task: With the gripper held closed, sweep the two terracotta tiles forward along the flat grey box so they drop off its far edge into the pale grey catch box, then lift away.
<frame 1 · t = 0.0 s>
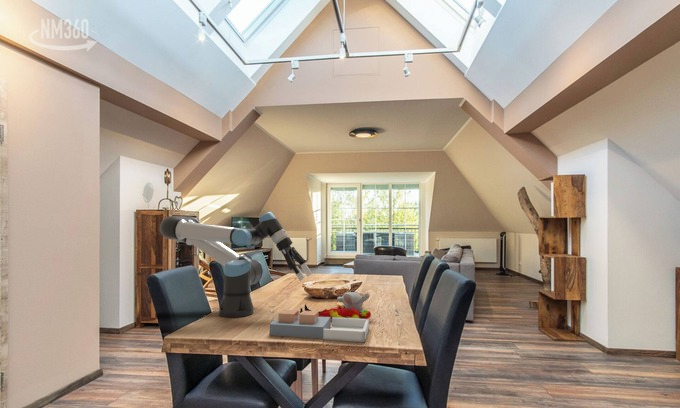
hand: (306, 277, 172), 15 cm above the table, tool tilted 35°, fingers open, 13 cm apart
front tile: (308, 320, 136), point 4 cm above the table, touching flat grey box
catch box: (347, 333, 133), on the table
toy: (352, 312, 168), on the table
flat grey box: (301, 331, 136), on the table
rear tile: (288, 319, 137), point 4 cm above the table, touching flat grey box
figurine: (336, 320, 154), on the table
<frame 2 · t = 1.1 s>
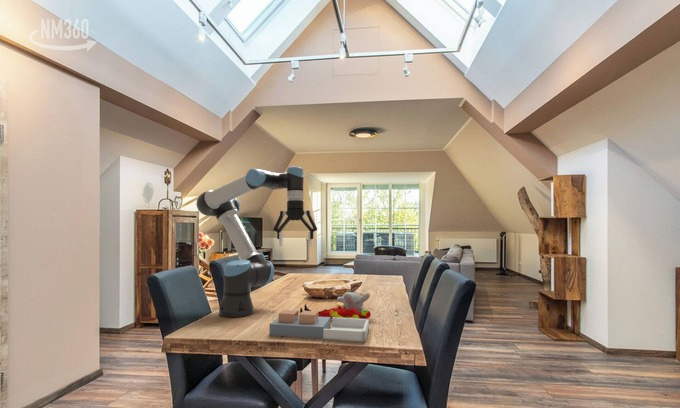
hand: (295, 246, 165), 30 cm above the table, tool pointing down, fingers open, 13 cm apart
nothing on the table moved.
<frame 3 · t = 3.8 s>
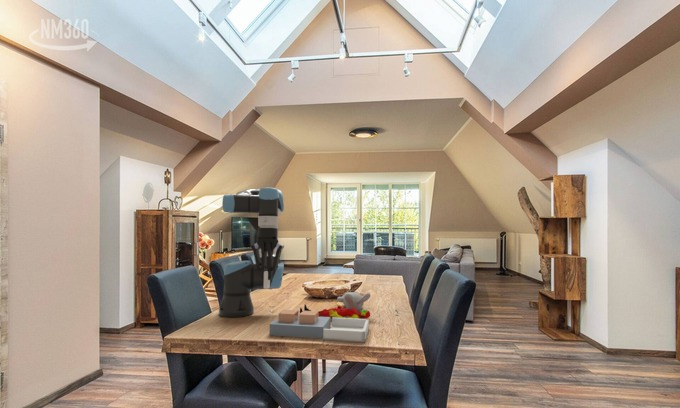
hand: (266, 288, 139), 16 cm above the table, tool pointing down, fingers closed
nothing on the table moved.
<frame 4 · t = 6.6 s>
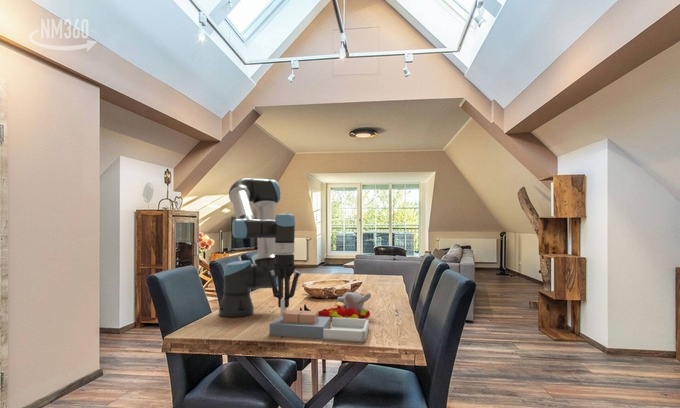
hand: (283, 316, 137), 5 cm above the table, tool pointing down, fingers closed
rear tile: (293, 320, 137), point 4 cm above the table, touching flat grey box, gripper
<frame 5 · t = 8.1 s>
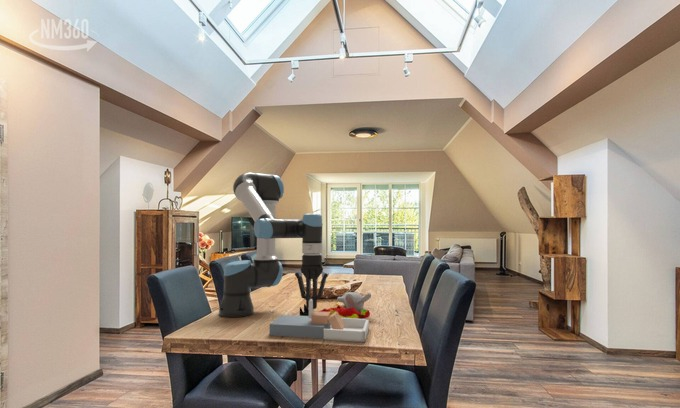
hand: (311, 317, 136), 5 cm above the table, tool pointing down, fingers closed
front tile: (333, 324, 134), point 3 cm above the table, tilted 61°, touching catch box
rear tile: (321, 321, 135), point 4 cm above the table, touching flat grey box, gripper
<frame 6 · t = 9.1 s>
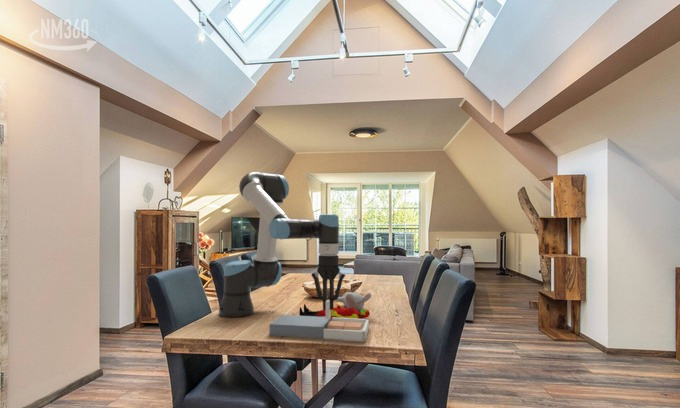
hand: (328, 318, 135), 5 cm above the table, tool pointing down, fingers closed
front tile: (353, 324, 133), point 4 cm above the table, tilted 180°, touching catch box
rear tile: (336, 331, 134), point 1 cm above the table, touching catch box
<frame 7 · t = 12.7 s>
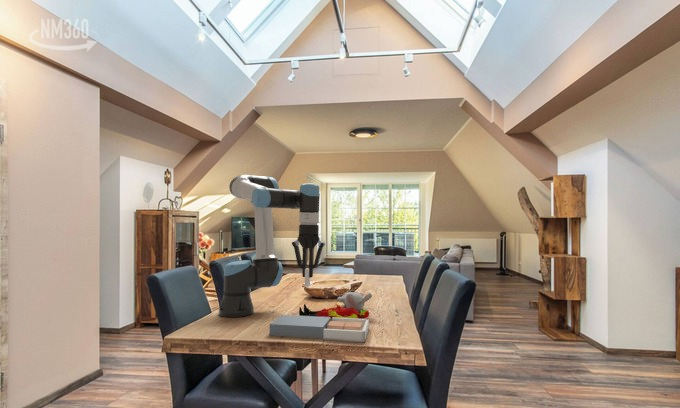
hand: (307, 285, 137), 17 cm above the table, tool pointing down, fingers closed
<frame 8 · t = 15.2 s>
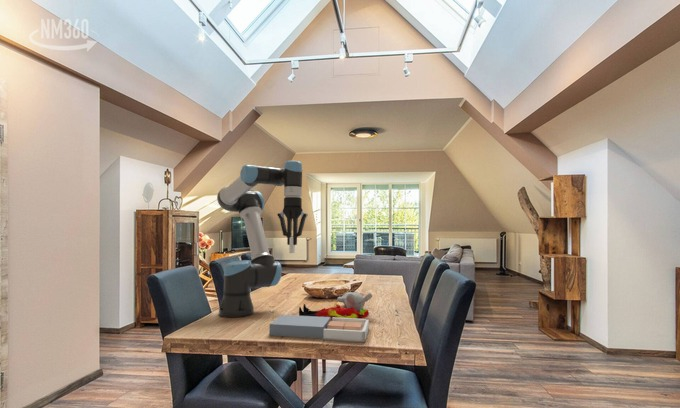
hand: (292, 252, 152), 28 cm above the table, tool pointing down, fingers closed
at the end: front tile inside the target area (0.8 cm from its centre), point 3.6 cm above the table; rear tile inside the target area (5.4 cm from its centre), point 0.6 cm above the table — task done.
